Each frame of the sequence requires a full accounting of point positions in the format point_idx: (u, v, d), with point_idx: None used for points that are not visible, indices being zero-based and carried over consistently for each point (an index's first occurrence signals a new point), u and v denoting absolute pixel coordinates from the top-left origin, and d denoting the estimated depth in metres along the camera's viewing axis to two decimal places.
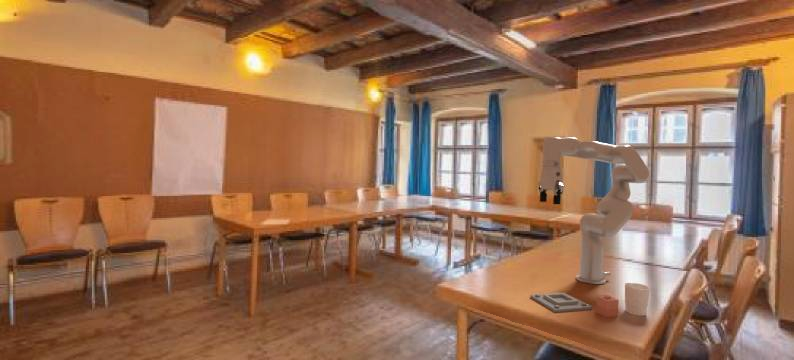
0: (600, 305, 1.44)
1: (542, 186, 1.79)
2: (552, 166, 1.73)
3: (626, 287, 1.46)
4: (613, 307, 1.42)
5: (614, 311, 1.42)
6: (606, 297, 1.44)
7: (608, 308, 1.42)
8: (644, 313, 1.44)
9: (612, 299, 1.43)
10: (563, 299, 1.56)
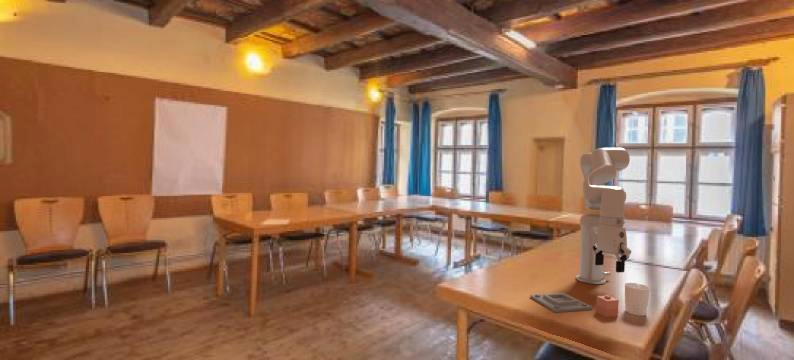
0: (600, 305, 1.44)
1: (599, 247, 1.45)
2: (614, 224, 1.39)
3: (626, 287, 1.46)
4: (613, 307, 1.42)
5: (614, 311, 1.42)
6: (606, 297, 1.44)
7: (608, 308, 1.42)
8: (644, 313, 1.44)
9: (612, 299, 1.43)
10: (563, 299, 1.56)
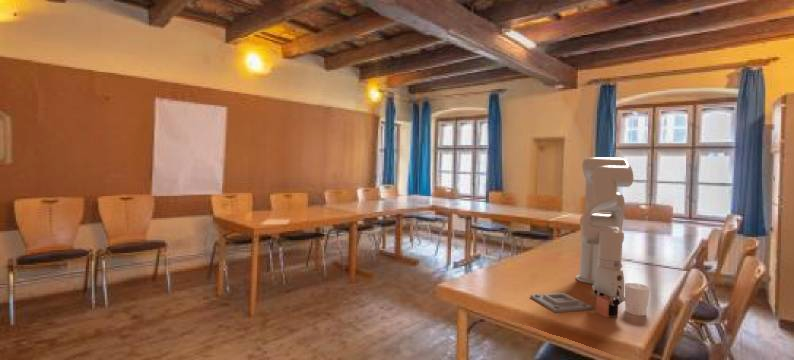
0: (600, 305, 1.44)
1: (597, 288, 1.46)
2: (612, 268, 1.40)
3: (626, 287, 1.46)
4: None
5: None
6: (606, 297, 1.44)
7: (608, 307, 1.42)
8: (644, 313, 1.44)
9: None
10: (563, 299, 1.56)
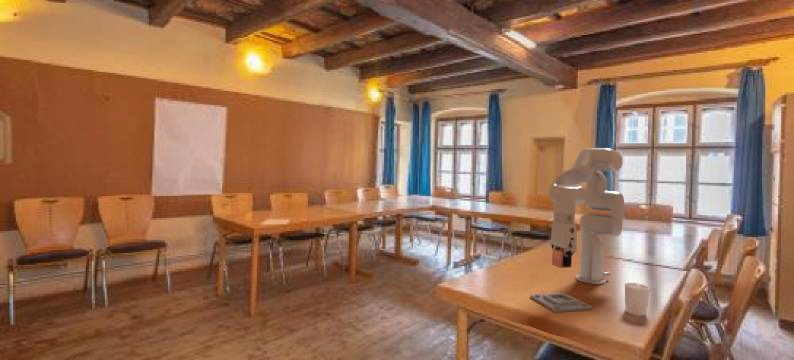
0: (555, 257, 1.53)
1: (553, 242, 1.55)
2: (565, 221, 1.49)
3: (626, 287, 1.46)
4: None
5: None
6: (561, 250, 1.53)
7: (562, 259, 1.51)
8: (644, 313, 1.44)
9: None
10: (563, 299, 1.56)
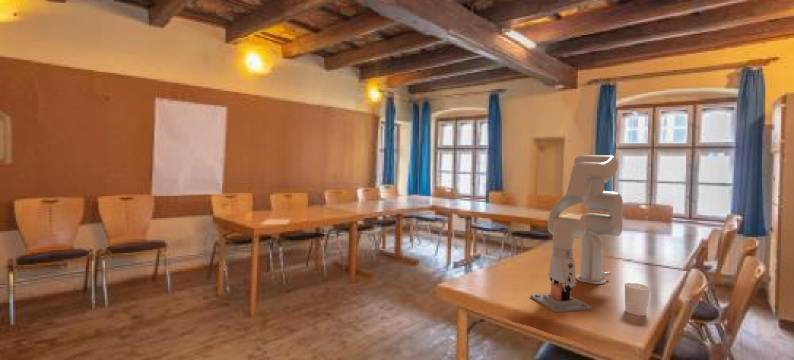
0: (554, 292, 1.54)
1: (552, 275, 1.56)
2: (564, 256, 1.50)
3: (626, 287, 1.46)
4: None
5: None
6: (559, 284, 1.54)
7: (560, 294, 1.51)
8: (644, 313, 1.44)
9: None
10: None
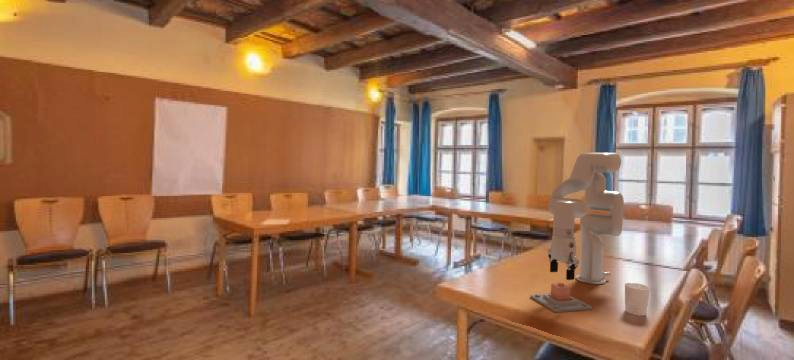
0: (554, 292, 1.54)
1: (553, 255, 1.56)
2: (564, 236, 1.50)
3: (626, 287, 1.46)
4: (565, 294, 1.52)
5: (566, 298, 1.52)
6: (559, 284, 1.54)
7: (560, 294, 1.51)
8: (644, 313, 1.44)
9: (565, 286, 1.53)
10: None
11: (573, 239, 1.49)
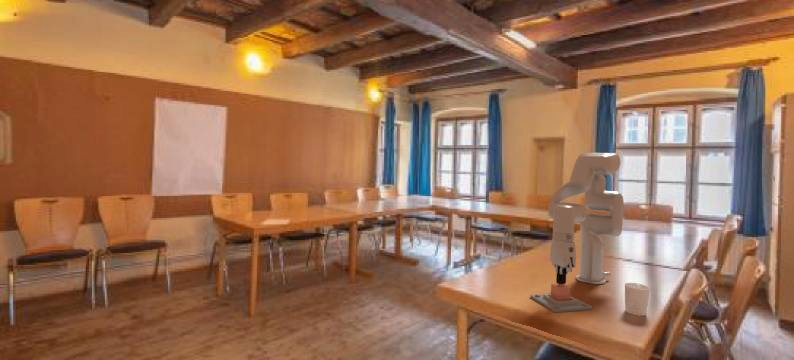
0: (554, 292, 1.54)
1: (552, 260, 1.56)
2: (564, 240, 1.50)
3: (626, 287, 1.46)
4: (565, 294, 1.52)
5: (566, 298, 1.52)
6: (559, 284, 1.54)
7: (560, 294, 1.51)
8: (644, 313, 1.44)
9: (565, 286, 1.53)
10: None
11: (573, 243, 1.49)
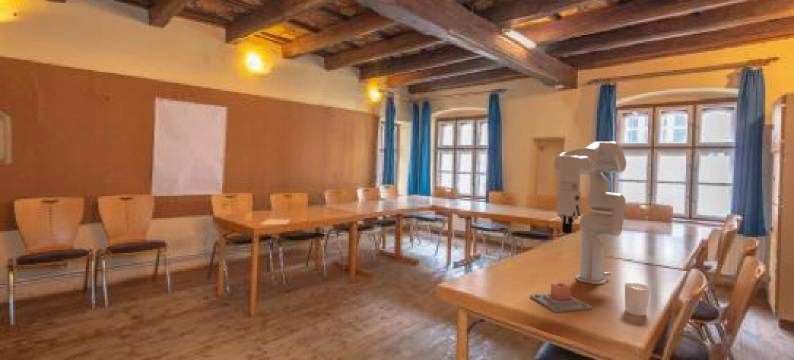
0: (554, 292, 1.54)
1: (558, 211, 1.59)
2: (570, 189, 1.52)
3: (626, 287, 1.46)
4: (565, 294, 1.52)
5: (566, 298, 1.52)
6: (559, 284, 1.54)
7: (560, 294, 1.51)
8: (644, 313, 1.44)
9: (565, 286, 1.53)
10: None
11: (579, 192, 1.52)
